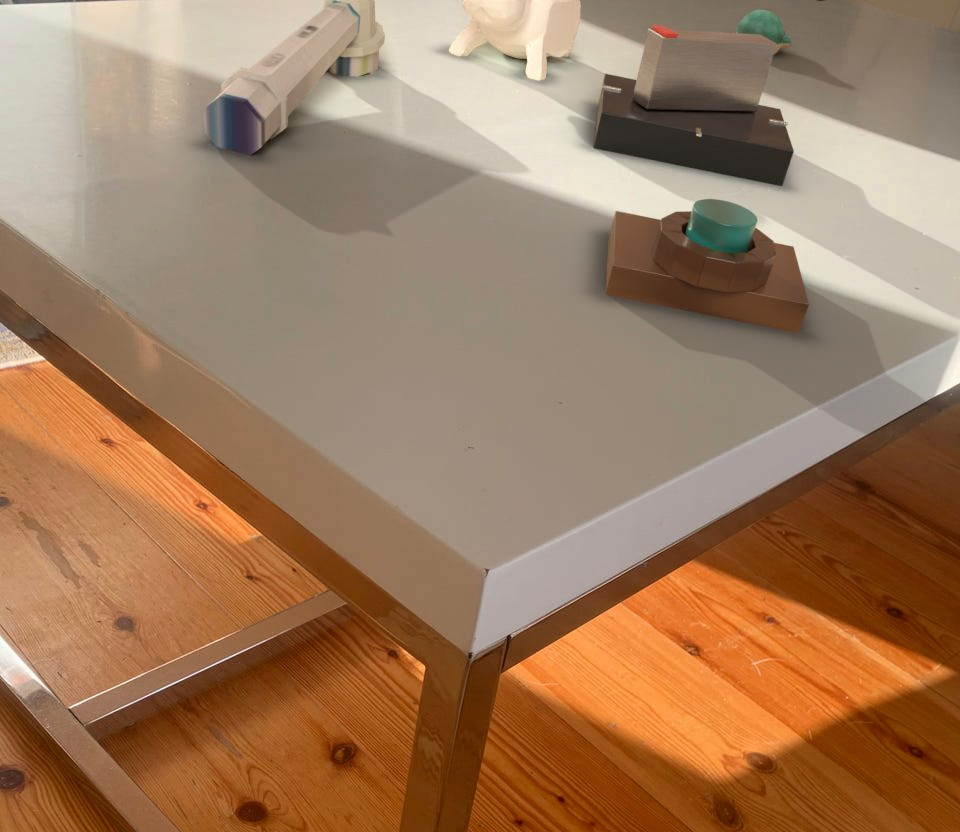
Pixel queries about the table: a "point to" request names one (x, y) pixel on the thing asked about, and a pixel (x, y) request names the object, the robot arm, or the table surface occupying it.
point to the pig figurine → (521, 30)
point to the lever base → (694, 135)
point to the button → (721, 225)
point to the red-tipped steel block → (702, 70)
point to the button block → (704, 273)
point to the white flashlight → (293, 74)
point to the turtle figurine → (764, 27)
